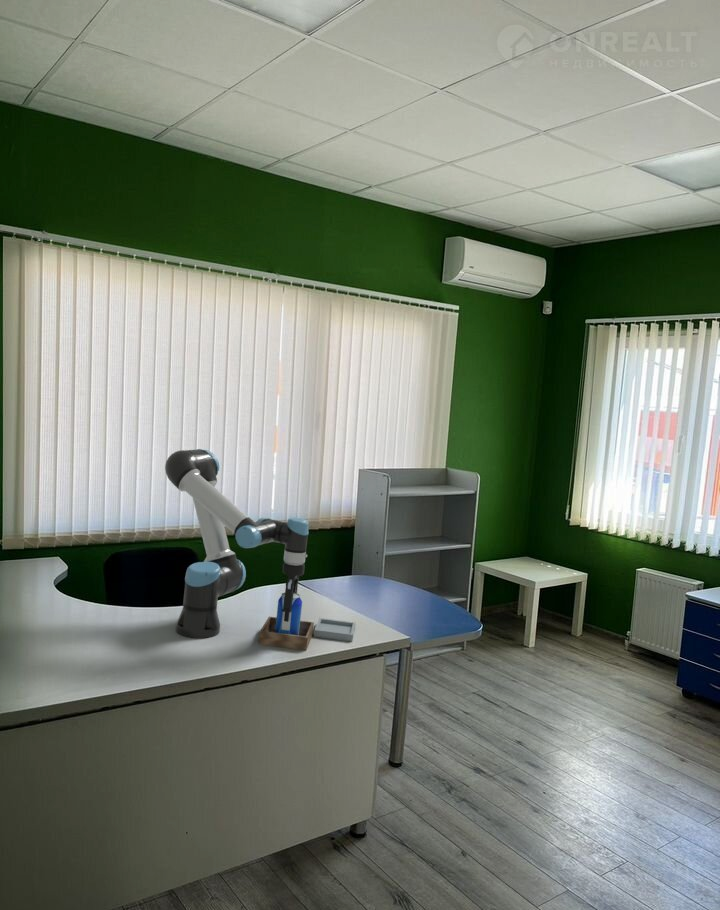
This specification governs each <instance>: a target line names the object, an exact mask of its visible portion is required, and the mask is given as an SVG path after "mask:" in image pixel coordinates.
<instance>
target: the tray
mask: <svg viewBox="0 0 720 910" xmlns="http://www.w3.org/2000/svg"><path fill="white" fill-rule="evenodd" d="M356 625H357V622H353V621H348V620H346V621H345V620H339V619H338V620H337V619H329V618H322V617H319V618H318V620H317V623H316V625H315V628H314V629H313V637H314V638H322V639H330V640H336V641H345V642H351V643H352V642H353V639H354V636H355V632H356Z"/></svg>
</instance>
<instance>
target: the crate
mask: <svg viewBox="0 0 720 910" xmlns="http://www.w3.org/2000/svg"><path fill="white" fill-rule="evenodd" d="M276 618H277V616H275V617H274V616H268V617H267V619H266V621H265V622H264V623H263V625H262V626H261V629H260V630H259V634H258V645H263V646H271V647H279V648H284V649H285V648H286V649H294V650H300V651H301V650H302V651H307V650H308V647H309V644H310V642H311V640H312V636H314V626H315V622H313V621H307V620H300V628H299V634H302V635H299V636H298V635H290V634H282V633H275V628H276ZM272 631H273V632H272ZM303 635H304V636H303Z"/></svg>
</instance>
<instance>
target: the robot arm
mask: <svg viewBox="0 0 720 910" xmlns="http://www.w3.org/2000/svg"><path fill="white" fill-rule="evenodd" d="M164 467H165V468H164V471H165V474H166V477H167V478H168V480H169V481H170V483H172V485H173V486H175V488H176V489H178V490H179V491H180V492H186V493H187V494H188V495H189V496H190V497H191V498H192V500H193V504H194V508H195V513H196V517H197V521H198V525H199V530H200V534H201V538H202V541H203V545H204V549H205V553H206V554H205V555H206V557H205V559H204V560H203V561H202V562H201V561H198V562H194V563H192V564H190V565H189V566H188V567H187V569H186V572H185V577H184V593H183V603H182V605H183V606H182V609H181V611H180V614H179V617H178V618H177V621H176V623H175V632H176V633H178V635H181V636H184V637H188V638H193V639H194V638H196V639H198V638H200V639H201V638H202V639H204V638H211V637H214V636H216V635H219V633H220V632H221V623H220V617H219V614H218V601H219V600H218V598H219V597H221V596H224V595H226V594H227V595H228V594H229V593H233V592H235V591H236V590H238V589H240V588H241V587H242V586H243V584H244V583H245V581H246V577H247V574H246V573H247V571H246V567H245V565H244V563H243V562H242V561H241V560H240V559H237V555H236V552H234V551H232V550H231V548H230V544H229V540H228V536H227V533H226V529H225V527H226V528H227V529H228V530H229V531H230V532H232V533H233V534H234V535H235V540H236V542H237V543H236V544H237V545H238V546H239V547H240V548H243V549H251V548H256V547H258V546H261V545H262V546H263V545H265V544H269V543H279V544H283V545H284V553H283V564H282V573H283V574H284V575H286V576H288V577H286V578H287V579H285V592H284V593H285V597H284V605H283V610H282V609H281V611H282V612H283V621H282V630H290V622H291V607H292V601H293V594H294V593H297V594H298V587H299V581H300V579H299V578H300V577H302V576H303V575H304V574H305V568H306V567H305V566H306V565H305V562H306V558H308V554H307V548H308V547H307V545H308V539H309V538H308V537H309V534H310V533H309V525H310V523H309V521H308V520H307V519H305V518H301V517H300V518H299V517H289V518H288V519H287V522H286V521H282V520H275V519H271V518H265V517H262V518H259V519H257V521H256V522H255V521H254V520H253V519H252V518H251V517H249V516H248V515H247V514H246V513H245V512H244V511H242V510H241V509H240V508H239V507H238V506H237V505H235V504H234V503H233V502H232V501H231V500H230V499H228V498H227V497H226V496H225V494H222V492H220V490H218V489H217V488H216V485H217V483H218V478H217V476H218V475H219V471H220V462H219V459H218V457H217V456H216V455H215V454H214V453H213V452H212V451H210V450H207V449H201V448H199V449H198V448H197V449H186V450H184V449H183V450H177V451H175V452H173V453H171V454H170V455H169V456H168V457H167V459H166V462H165V465H164Z"/></svg>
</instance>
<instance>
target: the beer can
mask: <svg viewBox="0 0 720 910" xmlns="http://www.w3.org/2000/svg"><path fill="white" fill-rule="evenodd" d="M284 597H285V592H282V593H281V596H280V597H279V598H278V601H277V611H276V617H277V618H276V628H275V630H274V632H275V633H282V634H290V635H298V636H300V633H299V628H300V621H301V618H302V609H303V608H302V607H303V601H302V599H301V595H300V594H299V593H298V592H297V593H294V594H293V601H292V607H291V622H290V630H282V621H283V612H282V611H281V609H282V610H283V605H284Z"/></svg>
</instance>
